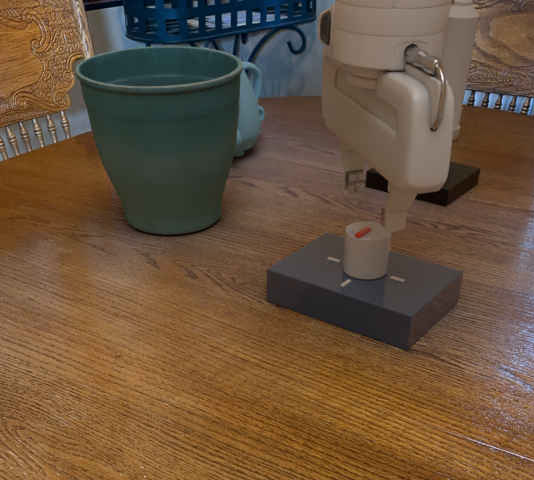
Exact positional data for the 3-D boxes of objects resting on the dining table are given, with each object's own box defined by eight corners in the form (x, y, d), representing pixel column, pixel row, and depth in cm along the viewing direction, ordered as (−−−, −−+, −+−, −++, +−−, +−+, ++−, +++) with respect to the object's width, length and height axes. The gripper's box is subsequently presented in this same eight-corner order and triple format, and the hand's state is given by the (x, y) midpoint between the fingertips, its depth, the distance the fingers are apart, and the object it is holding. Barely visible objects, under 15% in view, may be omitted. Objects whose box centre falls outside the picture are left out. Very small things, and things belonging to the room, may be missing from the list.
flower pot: (249, 246, 81) (246, 82, 70) (93, 251, 80) (63, 86, 69) (243, 189, 94) (239, 44, 83) (108, 193, 94) (86, 47, 82)
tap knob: (357, 256, 71) (360, 214, 68) (395, 267, 69) (401, 224, 66) (334, 271, 68) (336, 228, 66) (373, 284, 66) (377, 240, 64)
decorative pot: (183, 131, 114) (175, 34, 105) (275, 141, 110) (275, 40, 101) (134, 162, 103) (120, 57, 94) (235, 175, 98) (230, 65, 89)
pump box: (477, 184, 96) (483, 154, 93) (445, 207, 90) (451, 175, 87) (399, 167, 101) (403, 137, 98) (364, 187, 95) (367, 156, 92)
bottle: (418, 137, 111) (445, -60, 94) (438, 130, 114) (468, -63, 97) (445, 145, 108) (477, -58, 91) (465, 138, 111) (500, -60, 94)
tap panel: (457, 303, 71) (464, 269, 68) (406, 350, 64) (412, 315, 62) (324, 262, 78) (326, 230, 76) (266, 301, 71) (266, 267, 69)
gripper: (490, 60, 48) (454, 251, 58) (378, 10, 63) (364, 168, 72) (405, 66, 47) (383, 260, 56) (311, 13, 62) (306, 174, 71)
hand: (371, 208), depth 64 cm, fingers open, 8 cm apart
